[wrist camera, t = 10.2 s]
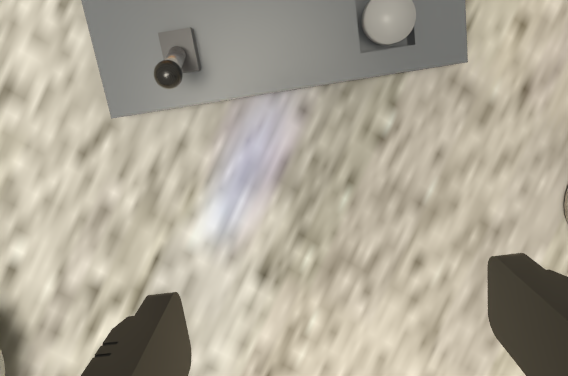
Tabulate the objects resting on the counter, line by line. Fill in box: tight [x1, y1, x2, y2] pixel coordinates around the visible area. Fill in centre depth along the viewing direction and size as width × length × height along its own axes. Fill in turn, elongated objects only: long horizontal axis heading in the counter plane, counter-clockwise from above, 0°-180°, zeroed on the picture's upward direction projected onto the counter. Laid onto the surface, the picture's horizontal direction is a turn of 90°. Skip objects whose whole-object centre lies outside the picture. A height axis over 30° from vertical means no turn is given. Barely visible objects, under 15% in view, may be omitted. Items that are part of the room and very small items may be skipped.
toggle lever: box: [154, 46, 186, 89], centre depth 29 cm, size 2×2×6 cm
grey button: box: [361, 0, 416, 45], centre depth 31 cm, size 4×4×2 cm
